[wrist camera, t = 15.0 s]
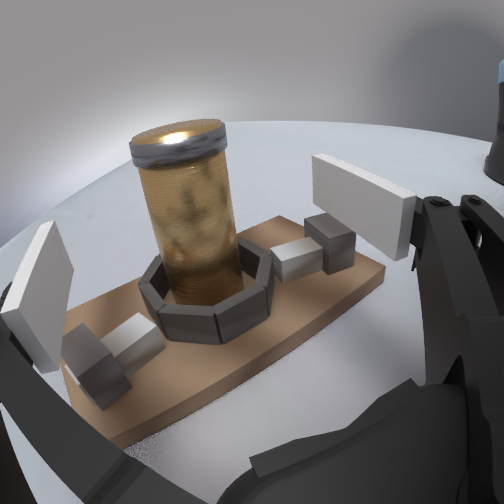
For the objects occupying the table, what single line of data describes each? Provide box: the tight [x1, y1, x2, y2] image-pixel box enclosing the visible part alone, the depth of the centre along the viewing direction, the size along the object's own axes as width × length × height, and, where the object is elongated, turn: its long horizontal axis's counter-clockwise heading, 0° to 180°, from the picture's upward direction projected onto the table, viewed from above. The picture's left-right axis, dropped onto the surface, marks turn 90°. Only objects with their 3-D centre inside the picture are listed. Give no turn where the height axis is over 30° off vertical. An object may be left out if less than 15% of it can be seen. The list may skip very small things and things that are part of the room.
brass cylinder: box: [129, 119, 244, 306], centre depth 19 cm, size 5×5×12 cm
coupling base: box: [60, 213, 386, 450], centre depth 22 cm, size 24×13×5 cm, turn 127°
